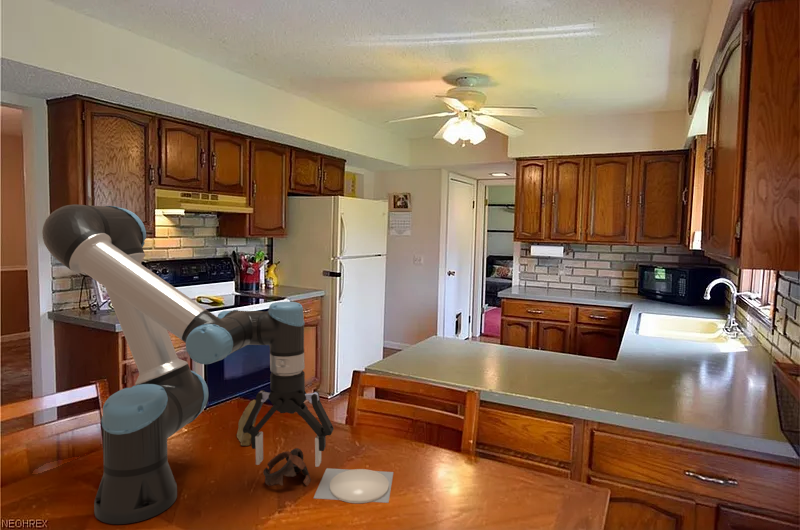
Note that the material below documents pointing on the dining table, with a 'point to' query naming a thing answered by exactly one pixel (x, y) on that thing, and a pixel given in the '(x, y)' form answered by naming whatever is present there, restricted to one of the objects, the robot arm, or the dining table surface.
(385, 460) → the dining table surface
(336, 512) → the dining table surface
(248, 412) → the rock
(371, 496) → the cream round plate
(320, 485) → the felt placemat
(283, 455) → the broken terracotta ring
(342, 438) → the dining table surface
